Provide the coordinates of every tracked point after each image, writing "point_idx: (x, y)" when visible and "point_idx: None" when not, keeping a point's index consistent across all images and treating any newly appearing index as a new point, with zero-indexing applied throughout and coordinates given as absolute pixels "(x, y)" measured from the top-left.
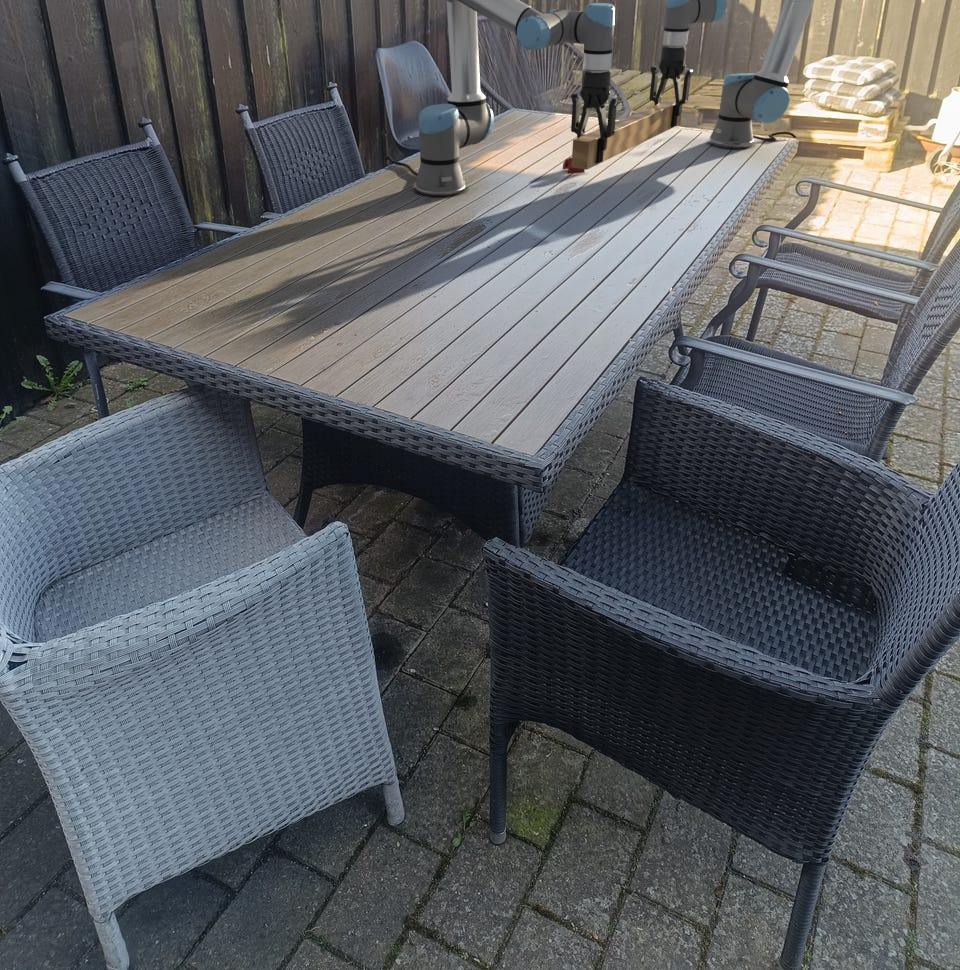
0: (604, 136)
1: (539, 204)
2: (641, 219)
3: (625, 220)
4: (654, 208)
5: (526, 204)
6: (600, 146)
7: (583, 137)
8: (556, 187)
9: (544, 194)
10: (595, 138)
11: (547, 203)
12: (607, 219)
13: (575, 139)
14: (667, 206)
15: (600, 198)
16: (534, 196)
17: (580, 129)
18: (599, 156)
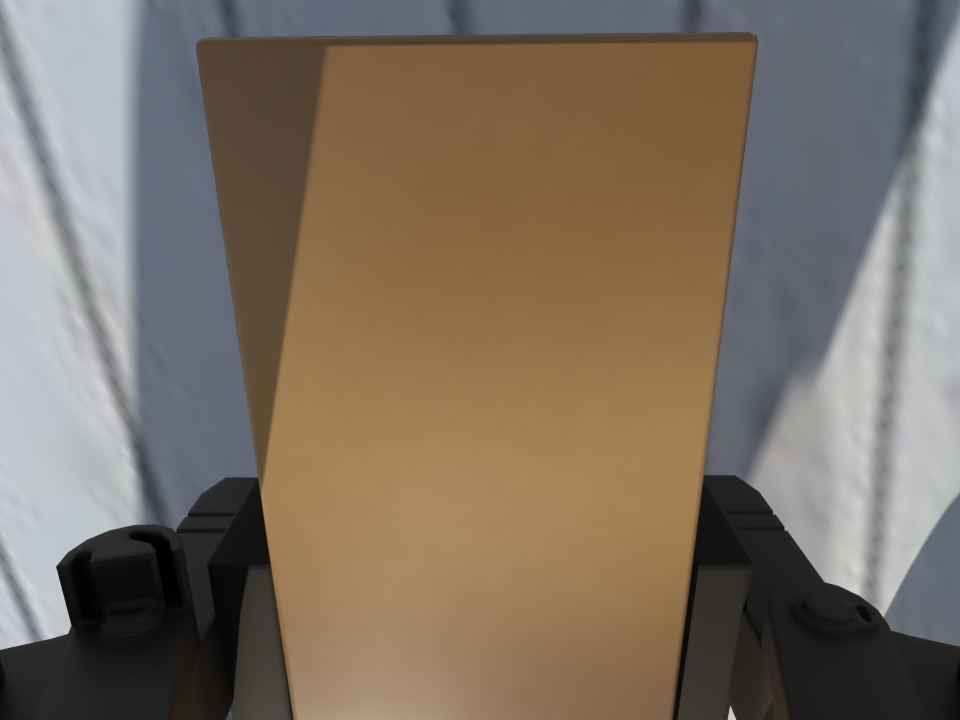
0: (73, 625)
1: (836, 118)
2: (7, 229)
3: (78, 140)
4: (89, 483)
5: (939, 54)
6: None
7: (598, 456)
8: (855, 534)
9: (883, 361)
10: (289, 516)
11: (785, 179)
12: (196, 81)
13: (703, 117)
14: (53, 556)
15: None
16: (941, 279)
17: (821, 696)
18: None
